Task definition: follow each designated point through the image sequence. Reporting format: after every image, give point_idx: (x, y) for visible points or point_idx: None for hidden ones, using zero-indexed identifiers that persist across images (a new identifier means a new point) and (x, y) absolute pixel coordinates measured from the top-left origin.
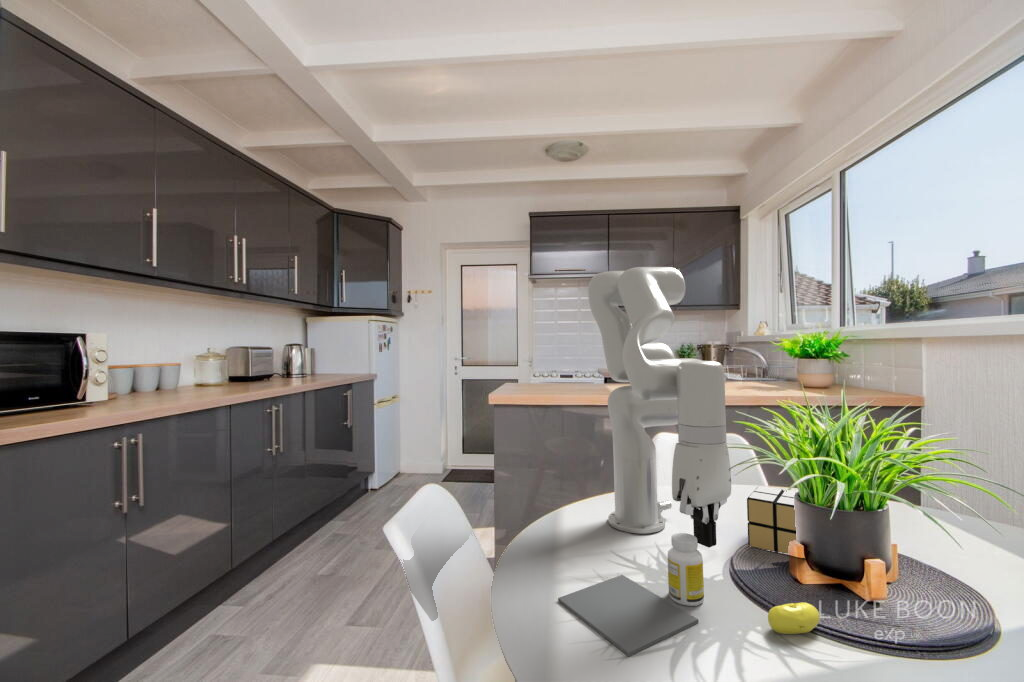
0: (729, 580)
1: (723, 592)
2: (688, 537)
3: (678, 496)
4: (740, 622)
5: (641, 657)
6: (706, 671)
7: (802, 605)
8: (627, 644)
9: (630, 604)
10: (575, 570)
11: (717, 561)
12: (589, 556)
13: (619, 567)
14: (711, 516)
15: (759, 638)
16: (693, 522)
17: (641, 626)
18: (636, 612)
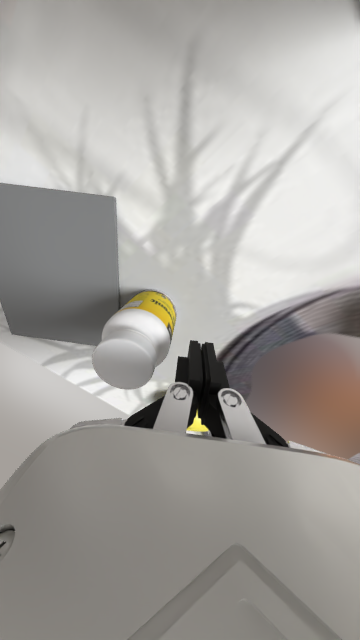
0: (245, 325)
1: (206, 335)
2: (131, 371)
3: (98, 448)
4: (159, 371)
5: (27, 340)
6: (71, 380)
7: (196, 429)
8: (17, 325)
9: (66, 277)
10: (42, 83)
11: (303, 282)
12: (117, 26)
13: (141, 156)
14: (210, 430)
15: (149, 389)
16: (189, 369)
17: (50, 317)
18: (61, 295)
